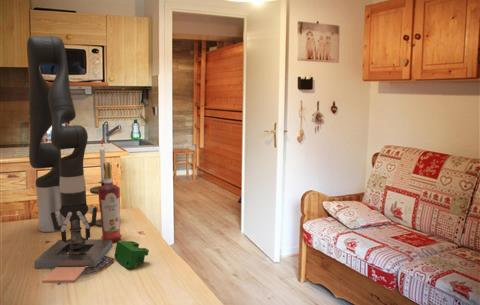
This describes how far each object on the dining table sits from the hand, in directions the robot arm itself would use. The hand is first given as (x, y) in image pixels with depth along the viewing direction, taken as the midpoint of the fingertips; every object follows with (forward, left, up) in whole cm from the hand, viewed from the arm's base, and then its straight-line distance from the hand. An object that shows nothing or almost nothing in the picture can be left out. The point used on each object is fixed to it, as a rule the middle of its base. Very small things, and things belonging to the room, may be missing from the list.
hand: (76, 240), depth 136 cm
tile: (+14, +2, -5) cm, 15 cm away
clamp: (+5, +19, -6) cm, 20 cm away
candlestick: (-35, -1, -6) cm, 35 cm away
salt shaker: (0, 0, -4) cm, 4 cm away
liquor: (-15, +7, -6) cm, 17 cm away
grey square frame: (0, 0, -5) cm, 5 cm away
